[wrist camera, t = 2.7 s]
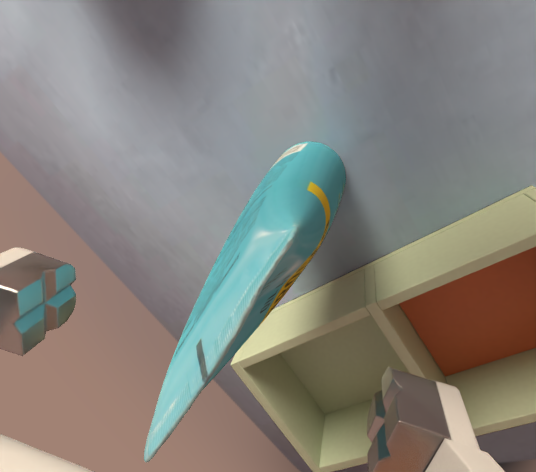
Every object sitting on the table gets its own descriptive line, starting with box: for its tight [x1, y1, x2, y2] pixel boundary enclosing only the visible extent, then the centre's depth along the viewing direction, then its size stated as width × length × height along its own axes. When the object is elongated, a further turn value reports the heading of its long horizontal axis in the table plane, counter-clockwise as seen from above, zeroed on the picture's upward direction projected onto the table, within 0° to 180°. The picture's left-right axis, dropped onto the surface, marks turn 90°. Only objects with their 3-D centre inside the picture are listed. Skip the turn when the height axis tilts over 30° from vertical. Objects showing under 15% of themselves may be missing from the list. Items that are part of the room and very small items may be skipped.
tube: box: [144, 142, 346, 462], centre depth 16 cm, size 7×5×19 cm, turn 155°
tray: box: [230, 186, 536, 472], centre depth 25 cm, size 22×11×6 cm, turn 125°
